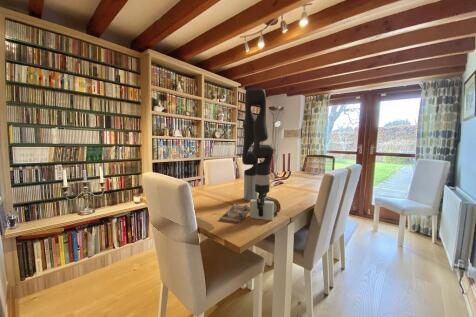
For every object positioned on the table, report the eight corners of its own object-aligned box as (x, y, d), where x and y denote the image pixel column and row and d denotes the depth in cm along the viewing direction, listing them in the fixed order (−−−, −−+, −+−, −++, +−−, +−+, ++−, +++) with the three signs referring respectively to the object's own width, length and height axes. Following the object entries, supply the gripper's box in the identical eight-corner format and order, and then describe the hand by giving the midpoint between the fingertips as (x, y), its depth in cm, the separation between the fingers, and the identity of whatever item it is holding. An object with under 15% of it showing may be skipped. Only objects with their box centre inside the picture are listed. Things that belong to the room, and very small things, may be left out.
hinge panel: (233, 207, 124) (233, 200, 124) (251, 209, 121) (251, 202, 120) (219, 220, 104) (219, 212, 103) (240, 223, 100) (240, 215, 100)
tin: (280, 214, 113) (281, 199, 112) (277, 215, 111) (277, 200, 110) (260, 207, 124) (260, 194, 123) (257, 208, 122) (257, 195, 121)
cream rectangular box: (251, 215, 111) (251, 199, 110) (273, 218, 108) (273, 201, 107) (249, 217, 108) (250, 201, 107) (272, 220, 104) (272, 203, 103)
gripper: (258, 179, 114) (257, 209, 116) (251, 185, 100) (251, 218, 102) (271, 180, 112) (270, 210, 113) (267, 186, 98) (266, 220, 100)
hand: (261, 214), depth 108 cm, fingers open, 4 cm apart
